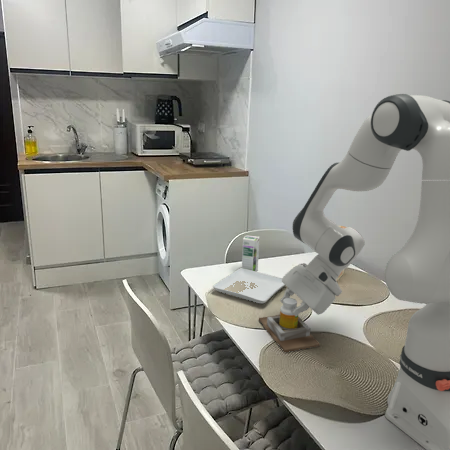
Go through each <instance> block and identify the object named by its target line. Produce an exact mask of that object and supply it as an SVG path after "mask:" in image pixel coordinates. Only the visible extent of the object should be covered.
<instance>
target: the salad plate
mask: <svg viewBox="0 0 450 450" xmlns="http://www.w3.org/2000/svg"><path fill="white" fill-rule="evenodd" d="M282 278H283V277H279V276H275V275H271V274H267V273H263V272H260V271H257V272H256V271H251V270H247V269H243V268H242V267H241V268H238V269H236V270H235V271H233V272H232V273H230V274H229V275H227V276H226V277H224V278H222V279H221V280H219V281H218V282H216V283H215V284H214V285H212V288H213V289H214V290H215V291H217V292H219V293H221V292H222V293H221V294H225V293H226V295H228V294H229V295H228V296H231V295H233V296H232V297H234V296H236V297H235V298H238V297H239V298H238V299H241V298H243V299H242V300H244V299H246V300H245V301H248V300H249V301H248V302H251V301H253V302H252V303H255V302H256V304H265V303H266V302H267V301H269V299H270V298H271V297H273V296H274V295H275V294H276V293H277V292H279V291H280V290H281V289H283V288H284V287H286V285H285V284H284V283H283V282H282ZM236 281H239V282H240V281H241V282H242V281H245V282H246V283H244V284H245V285H246V286H245V287H247V288H249V289H247V288H246V289H245V290H243V292H242V291H241V292H239V291H238V292H239V293H236V292H232V291H228V290H224V289H225V288H227V287H229V286H230V285H233V283H235V282H236ZM247 282H248V283H247ZM251 282H252V283H255V285H257V286H258V287H257V286H255V285H254V286H255V287H256V288H254V287H253V289H251V288H250V287H249V286H250V283H251ZM234 285H235V284H234ZM234 285H233V287H234ZM241 285H242V284H241ZM247 285H248V286H247ZM251 287H252V286H251Z"/></svg>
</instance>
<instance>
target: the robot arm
mask: <svg viewBox="0 0 450 450" xmlns="http://www.w3.org/2000/svg"><path fill="white" fill-rule="evenodd" d="M402 150H404V151H406V152H410V151H411V150H415V151H417V153H419V155H420V157H421V160H422V170H421V171H422V172H421V187H420V189H421V190H420V203H419V211H418V216H417V217H418V218H417V221H416V225H415V227H414V229H413V231H412V233H411V235H410V237H409V238H408V240H407V242H406V243H405V244H404V245H403V246H402V247H401V248H400V249H399V250H398V251H397V252H396V253H394V254H393V255H391V257H390V258H389V259H388V260H387V263H386V266H385V268H384V281H385V285H386V287H387V289H388V291H389V292H390V294H391V295H392V296H393V297H394V298H395V299H397V300H399V301H403V302H409V303H413V304H414V303H415V304H425V305H424V306H422V307H421V308H420V309H418V310H417V311H415V312H414V313H413V314H412V315H411V317H410V318H409V320H408V323H407V324H408V325H407V331H406V338H405V343H404V345H403V346H402V349H401V353H400V356H399V358H400V359H399V371H398V374H397V377H396V379H395V381H394V385H393V388H392V389H391V390H390V393H389V394H388V396H387V401H386V403H387V408H386V411H385V413H384V415H385V418H386V419H387V420H388V421H389V422H391V423H392V424H393V425H395V426H396V427H397V428H398V429H400V430H401V431H402V432H403V433H405V434H406V435H407V436H408V437H410V438H411V439H413V441H415V442H416V443H418V444H419V446H421V447H422V448H424V450H450V100H446V99H445V100H444V99H440V98H434V97H432V96H429V95H421V94H407V93H399V94H396V93H395V94H392V95H389V96H386V97H384V98H382V99H381V100H380V101H378V103H377V104H376V105H375V107H374V108H373V111H372V113H371V114H370V115H368V117H366V119H364V122H362V124H361V125H360V127H359V129H358V130H357V131H356V134H355V136H354V137H353V139H352V142H351V144H350V146H349V148H348V151H347V154H346V155H345V156H344V158H343V159H342V160H341V161H340V162H334V163H333V164H331V165H330V166H329V167H328V168H327V169H326V170H325V171H324V174H323V175H322V177H321V178H320V180H319V181H318V183H317V185H316V186H315V188H314V190H313V191H312V193H311V195H310V196H309V198H308V200H307V201H306V202H305V205H304V206H303V208H301V210H300V211H299V212H298V213H297V215H296V216H295V217H294V219H293V222H292V233H293V234H292V235H293V236H294V238H295V239H297V240H298V241H300V242H301V243H303V244H305V245H307V247H308V248H310V249H311V250H312V251H314V252H315V253H316V254H317V255H316V256H314V257H313V258H312V260H311V261H309V263H305V262H303V263H299V264H298V265H295V266H293V267H292V268H291V269H290V270H288V272H286V273H285V274H284V276H282V277H281V278H282V282H283V283H284V284H285V287H287V288H286V289H285V291H284V292H283V293H284V294H283V296H282V297H281V298H280V300H279V301H280V302H281V304H283V300H284V299H285V298H291V296H292V297H293V295H294V294H295V296H297V297H298V298H299V300H301V303H300V305H299V306H296V307H297V308H295V307H294V308H293V309H292V310H291V312H292V313H293V314H294V315H295V316H298V317H299V315H300V314H301V313H303V312H306V311H308V310H309V308H310V309H311V310H312V311H313V312H314V313H315V314H316V315H321V314H323V313H325V311H327V309H328V308H330V306H331V305H332V304H333V303H334V301H335V299H336V297H338V296H340V295H341V294H342V292H343V291H342V288H341V287H340V285H339V283H338V281H336V279H337V278H338V277H339V276H340V273H341V272H342V271H343V270H344V269H346V268H348V267H349V266H350V265H351V264H352V263H353V262H354V260H355V259H357V257H358V256H359V255H360V253H361V251H362V250H363V248H364V247H365V244H366V243H365V240H364V239H365V238H363V236H362V234H361V233H360V232H359V231H358V230H356V229H355V228H354V227H350V226H345V227H346V228H344V229H343V228H341V227H339V226H340V225H337V223H335V222H333V221H332V220H330V219H329V218H328V217H327V216H326V215H325V213H324V209H325V208H326V206H327V205H328V203H329V202H330V200H331V198H332V197H333V195H334V194H335V193H336V191H337V190H339V189H340V190H347V191H350V192H369V191H373V190H376V189H377V188H379V187H380V186H381V185H382V184H383V183H384V182H385V180H386V179H387V177H388V176H389V174H390V172H391V171H392V167H393V165H394V163H395V161H396V159H397V156H398V155H399V154H400V152H401V151H402Z"/></svg>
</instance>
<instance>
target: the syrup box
mask: <svg viewBox="0 0 450 450" xmlns="http://www.w3.org/2000/svg"><path fill="white" fill-rule="evenodd" d="M260 237H261V236H256V235H255V236H253V235H249V234H247V235H244V237H243V238H242V253H241V256H242V257H241V268H243V269H247V270H251V271H256V272H258V270H259V255H260V254H259V253H260Z"/></svg>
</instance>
